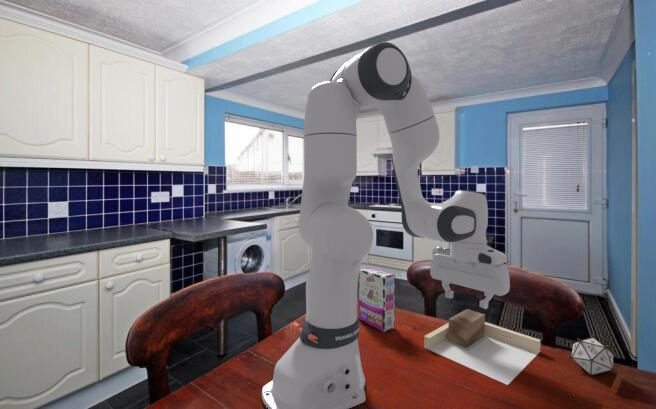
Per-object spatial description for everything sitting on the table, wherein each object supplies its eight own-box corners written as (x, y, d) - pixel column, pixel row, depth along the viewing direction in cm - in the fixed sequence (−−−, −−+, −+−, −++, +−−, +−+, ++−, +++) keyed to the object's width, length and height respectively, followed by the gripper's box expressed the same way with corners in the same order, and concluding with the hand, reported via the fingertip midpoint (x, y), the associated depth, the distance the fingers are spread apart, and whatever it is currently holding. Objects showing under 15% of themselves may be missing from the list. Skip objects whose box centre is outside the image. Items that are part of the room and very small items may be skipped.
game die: (602, 393, 70) (638, 374, 63) (562, 376, 71) (593, 355, 65) (590, 356, 77) (622, 335, 70) (554, 341, 78) (582, 319, 72)
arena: (507, 388, 66) (508, 371, 66) (424, 350, 81) (424, 336, 81) (540, 354, 79) (540, 339, 78) (462, 327, 94) (462, 314, 94)
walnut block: (484, 335, 87) (484, 314, 86) (466, 348, 80) (467, 325, 80) (466, 329, 90) (467, 308, 90) (448, 340, 84) (448, 318, 84)
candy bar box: (395, 328, 94) (396, 274, 93) (384, 333, 91) (384, 277, 90) (369, 315, 103) (369, 266, 102) (358, 319, 100) (358, 269, 99)
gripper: (426, 246, 90) (425, 294, 90) (503, 260, 74) (500, 317, 75) (438, 244, 94) (437, 290, 94) (513, 256, 78) (511, 311, 79)
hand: (465, 302), depth 84 cm, fingers open, 8 cm apart
